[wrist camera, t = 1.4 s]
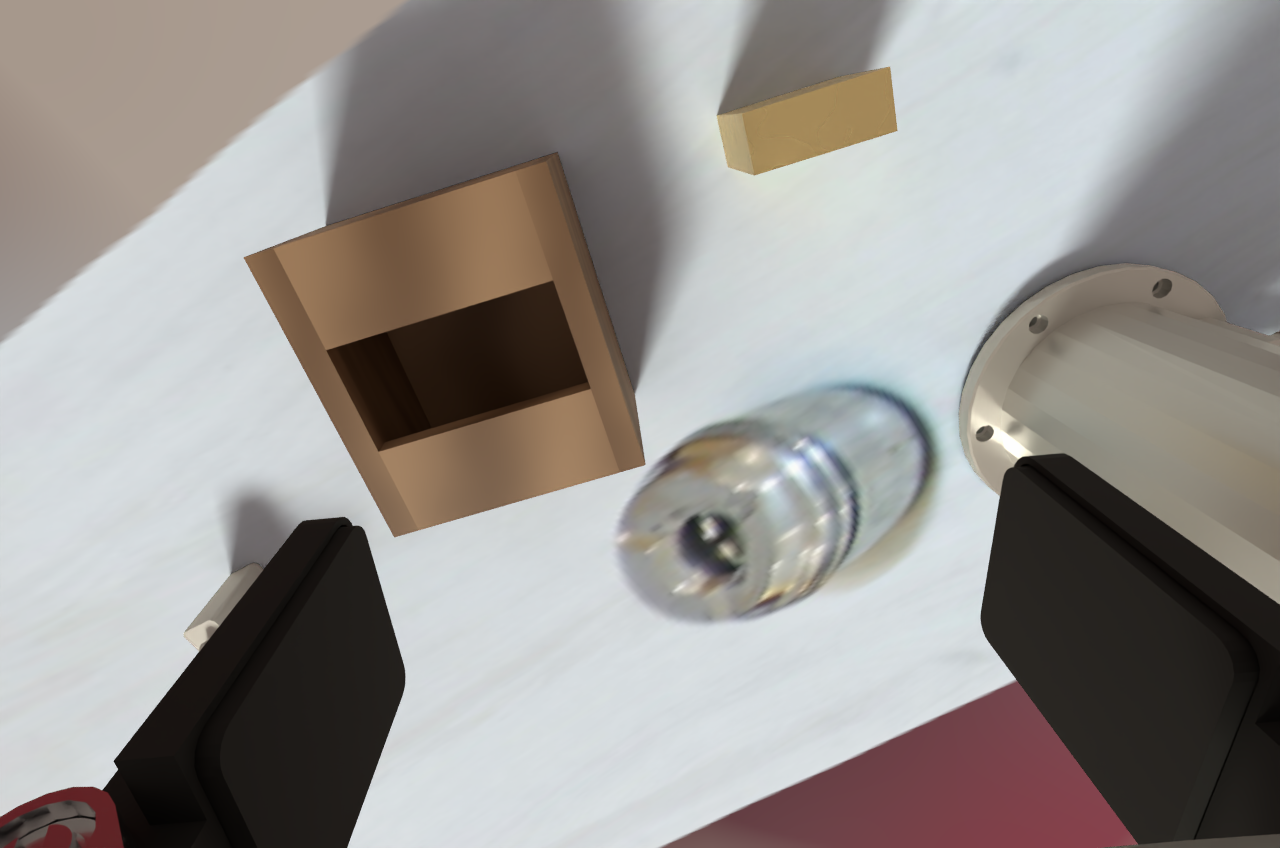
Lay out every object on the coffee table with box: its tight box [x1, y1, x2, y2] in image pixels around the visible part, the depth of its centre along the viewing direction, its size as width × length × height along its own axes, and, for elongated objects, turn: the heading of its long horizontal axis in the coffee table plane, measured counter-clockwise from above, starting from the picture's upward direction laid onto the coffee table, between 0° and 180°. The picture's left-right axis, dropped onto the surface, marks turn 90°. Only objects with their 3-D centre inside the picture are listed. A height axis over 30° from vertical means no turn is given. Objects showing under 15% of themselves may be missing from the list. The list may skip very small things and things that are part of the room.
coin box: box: [244, 152, 645, 537], centre depth 26 cm, size 10×11×7 cm
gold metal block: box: [717, 67, 897, 175], centre depth 25 cm, size 5×2×5 cm, turn 106°
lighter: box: [184, 563, 264, 651], centre depth 32 cm, size 7×2×8 cm, turn 27°
